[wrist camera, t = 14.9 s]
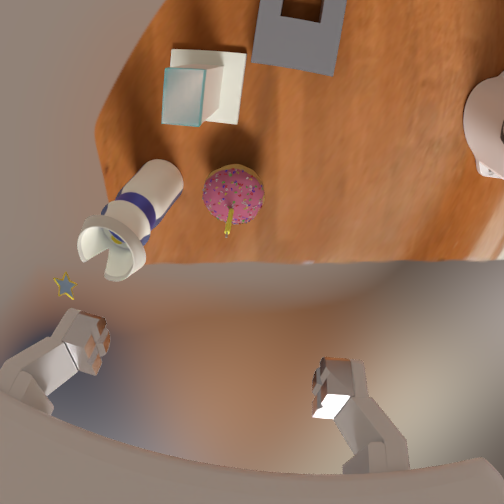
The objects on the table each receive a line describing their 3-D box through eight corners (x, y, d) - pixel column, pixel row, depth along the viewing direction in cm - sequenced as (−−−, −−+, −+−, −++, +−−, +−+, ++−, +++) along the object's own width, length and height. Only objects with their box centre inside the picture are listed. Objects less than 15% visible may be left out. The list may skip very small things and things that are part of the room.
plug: (224, 65, 36) (204, 69, 27) (219, 108, 40) (198, 126, 31) (193, 63, 36) (165, 68, 28) (189, 105, 40) (161, 123, 31)
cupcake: (268, 206, 49) (263, 251, 39) (214, 209, 50) (196, 253, 40) (263, 152, 44) (256, 186, 34) (205, 157, 45) (181, 191, 36)
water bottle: (169, 216, 52) (103, 331, 31) (128, 186, 49) (40, 287, 29) (196, 180, 48) (131, 293, 27) (152, 148, 45) (56, 239, 25)
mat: (247, 53, 36) (246, 53, 35) (237, 123, 42) (236, 124, 41) (174, 49, 36) (171, 49, 35) (168, 116, 42) (166, 117, 41)
